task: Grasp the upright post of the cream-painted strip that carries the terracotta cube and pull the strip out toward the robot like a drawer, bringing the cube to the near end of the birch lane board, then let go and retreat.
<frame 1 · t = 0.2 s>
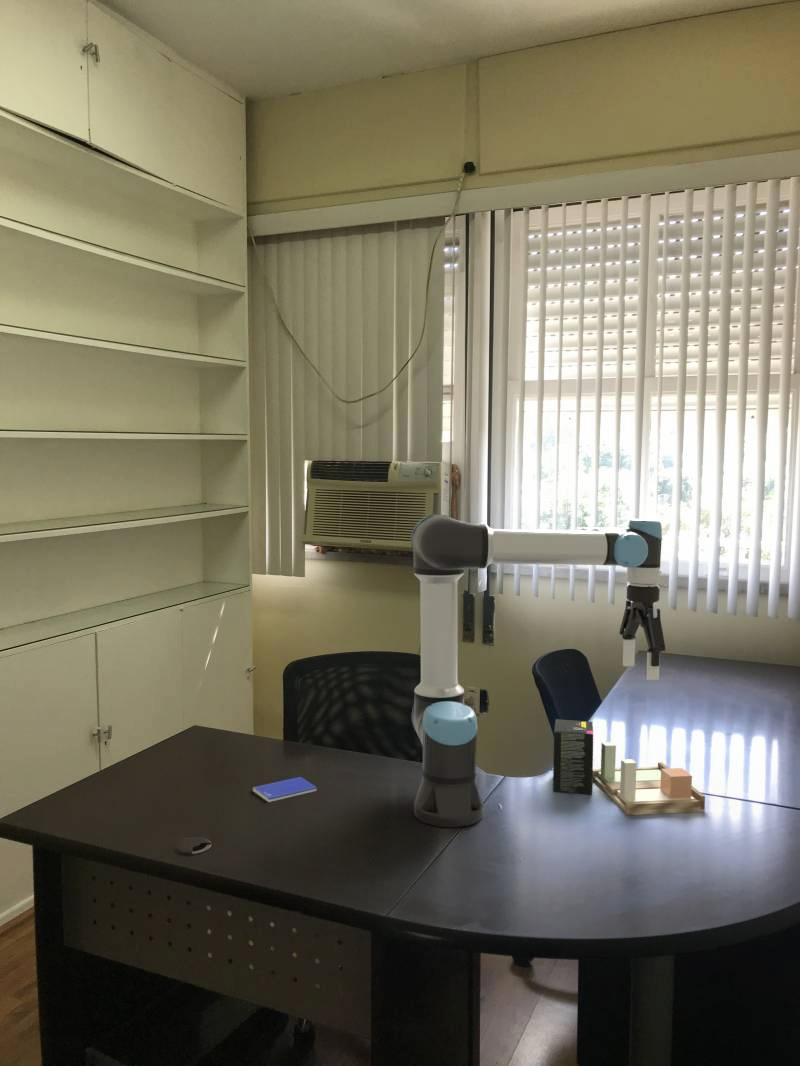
hand: (640, 672, 204), 27 cm above the table, fingers open, 13 cm apart
pale green l-shaped bracket: (634, 761, 205), point 6 cm above the table, slide at 0.0 cm
hard drive: (284, 793, 200), on the table
cube: (675, 793, 195), point 2 cm above the table, touching strip cream
tampon box: (572, 786, 205), on the table
strip cream: (656, 779, 194), point 6 cm above the table, slide at 0.0 cm, touching cube
lane board: (645, 794, 200), on the table
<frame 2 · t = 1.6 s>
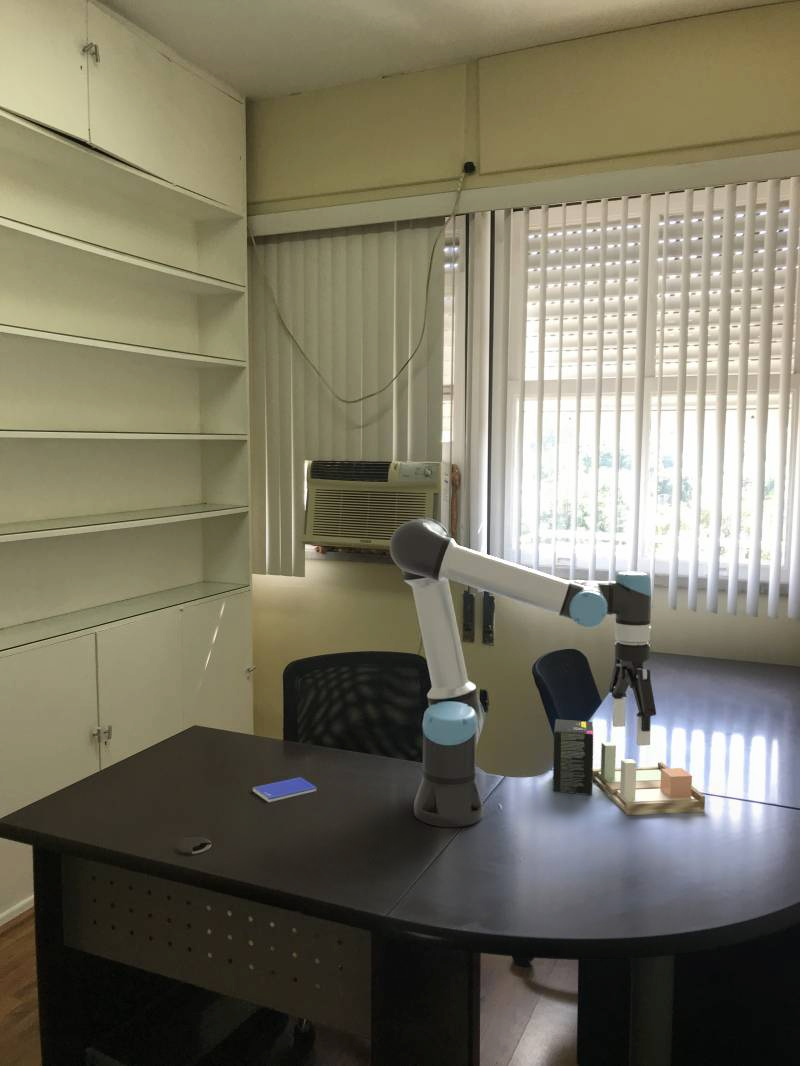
hand: (630, 735, 192), 16 cm above the table, fingers open, 13 cm apart
nothing on the table moved.
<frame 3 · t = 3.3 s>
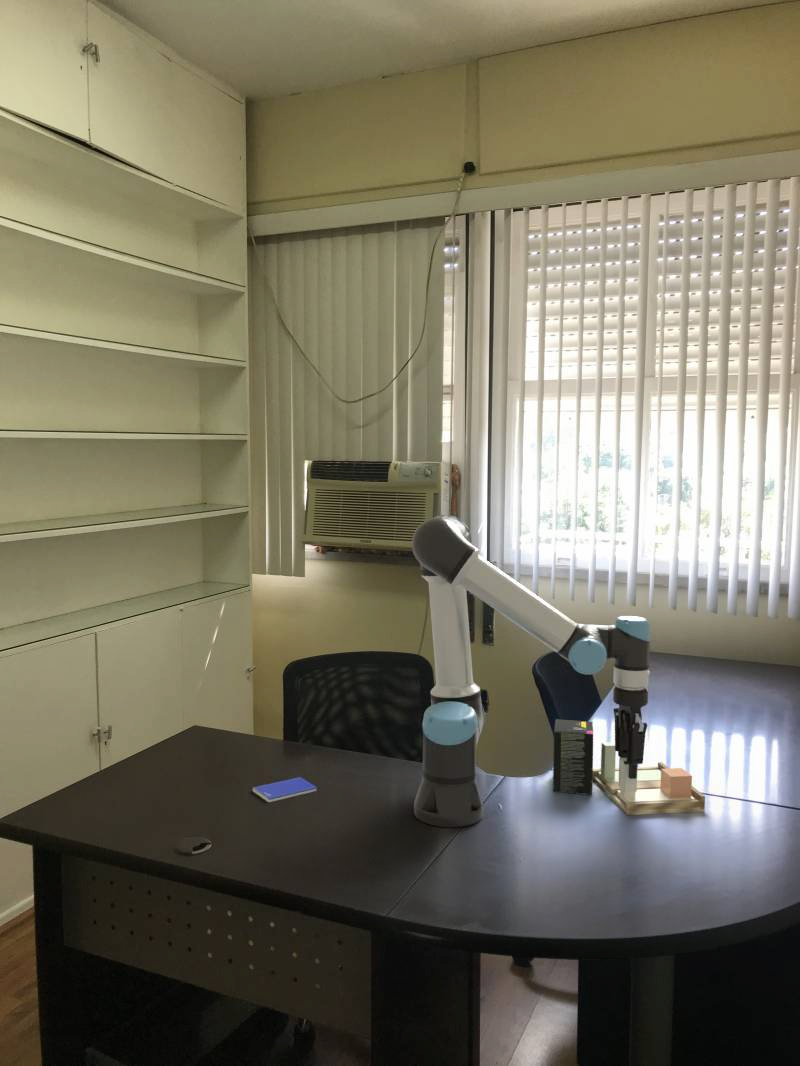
hand: (627, 788, 193), 4 cm above the table, fingers closed on strip cream, 2 cm apart
strip cream: (656, 779, 194), point 6 cm above the table, slide at 0.0 cm, touching cube, gripper
everything else where it was.
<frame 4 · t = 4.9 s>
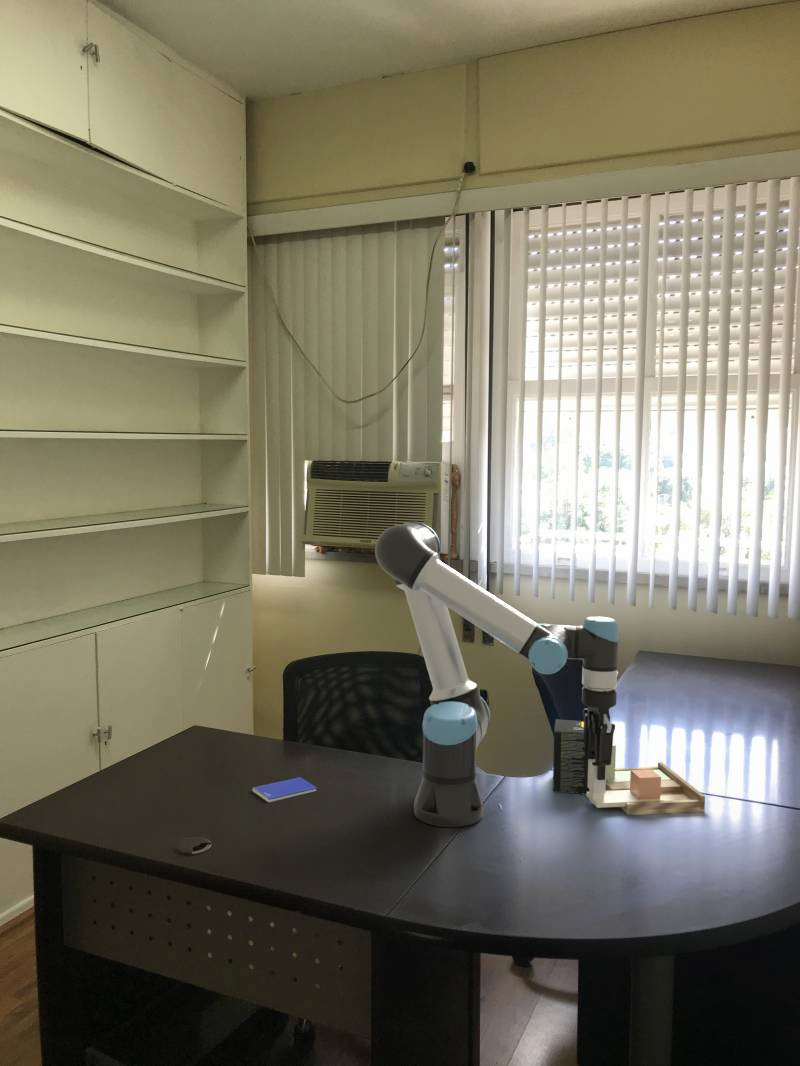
hand: (596, 789, 192), 4 cm above the table, fingers closed on strip cream, 2 cm apart
cube: (644, 795, 194), point 2 cm above the table, touching strip cream
strip cream: (625, 780, 193), point 6 cm above the table, slide at 7.3 cm, touching cube, gripper
everything else where it was.
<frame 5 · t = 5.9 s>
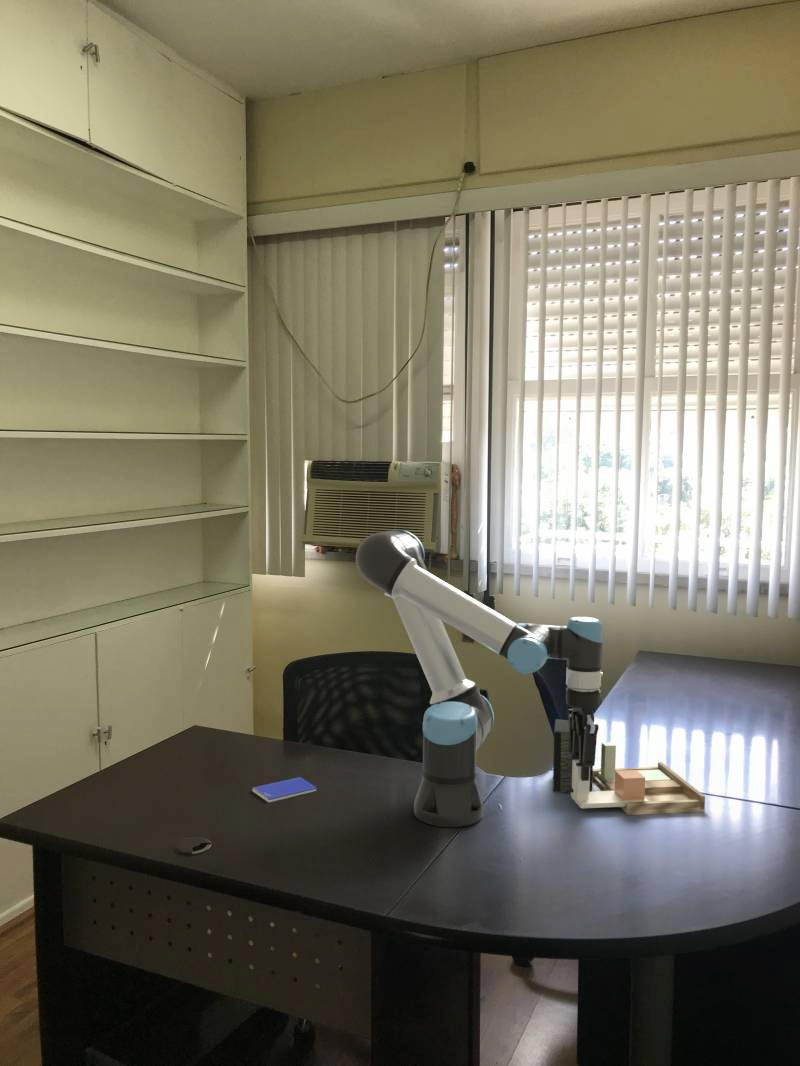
hand: (580, 790, 191), 4 cm above the table, fingers closed on strip cream, 2 cm apart
cube: (629, 795, 193), point 2 cm above the table, touching strip cream
strip cream: (609, 781, 192), point 6 cm above the table, slide at 11.0 cm, touching cube, gripper
everything else where it was.
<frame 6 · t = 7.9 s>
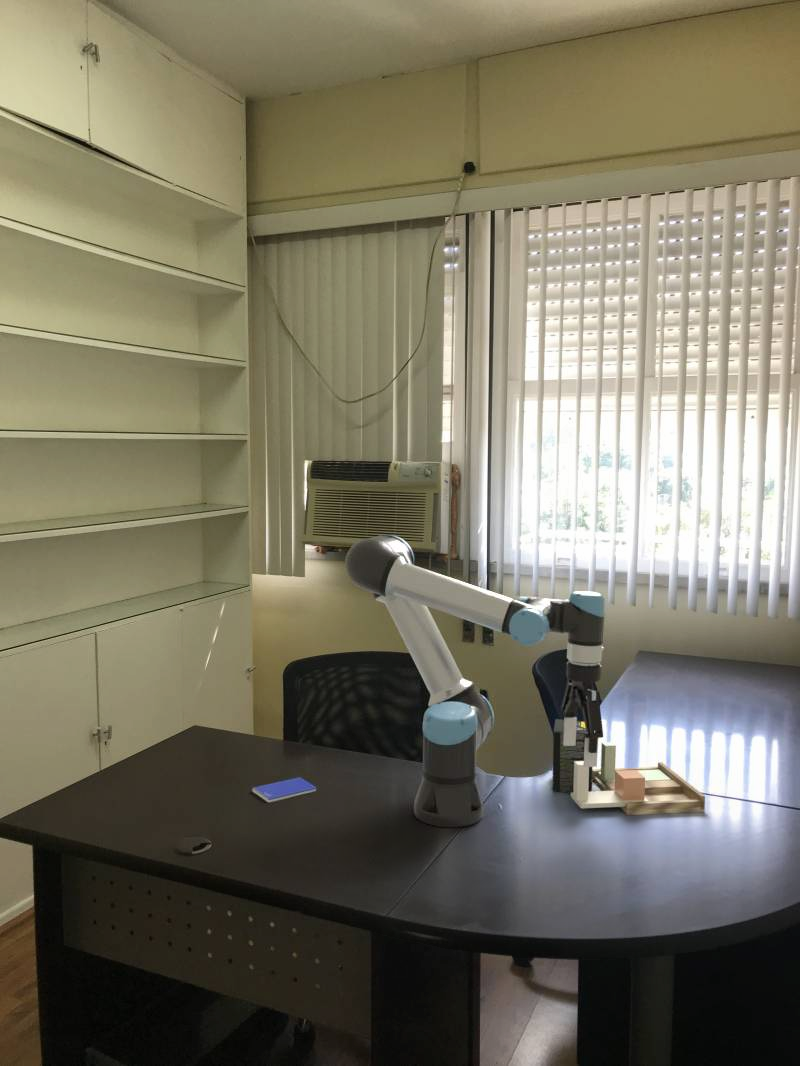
hand: (579, 755, 191), 12 cm above the table, fingers open, 13 cm apart
strip cream: (609, 781, 192), point 6 cm above the table, slide at 11.0 cm, touching cube
everything else where it was.
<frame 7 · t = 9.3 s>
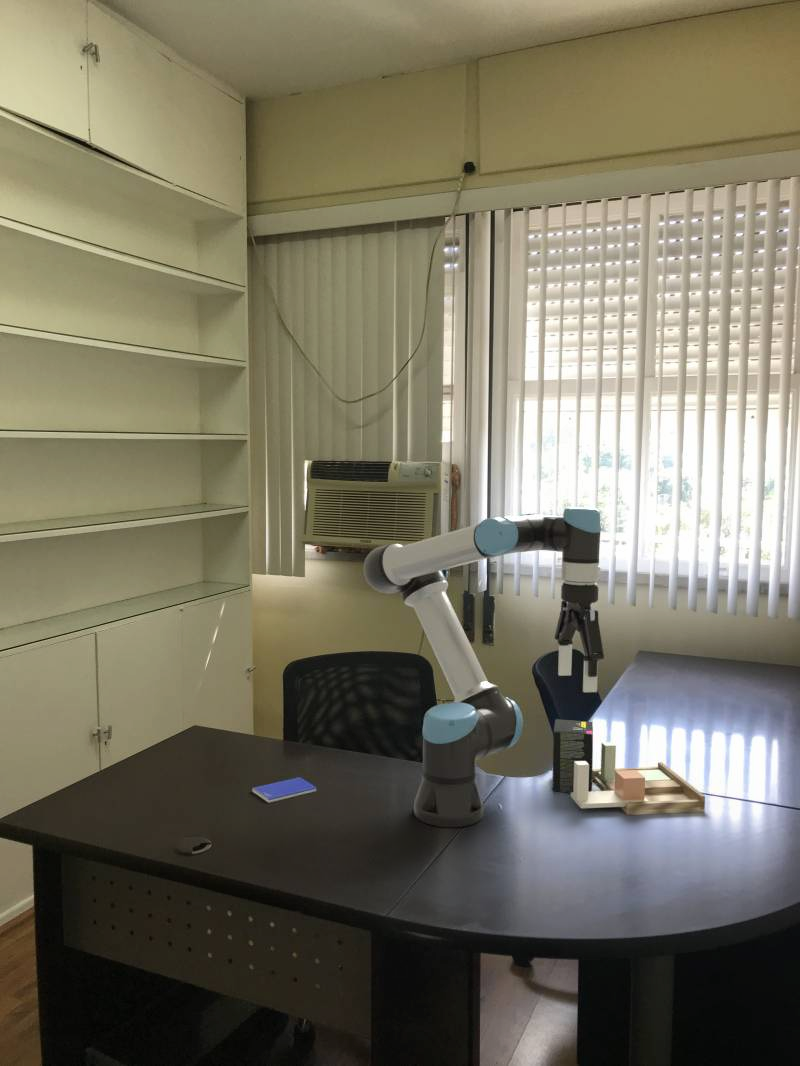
hand: (576, 683, 179), 31 cm above the table, fingers open, 13 cm apart
nothing on the table moved.
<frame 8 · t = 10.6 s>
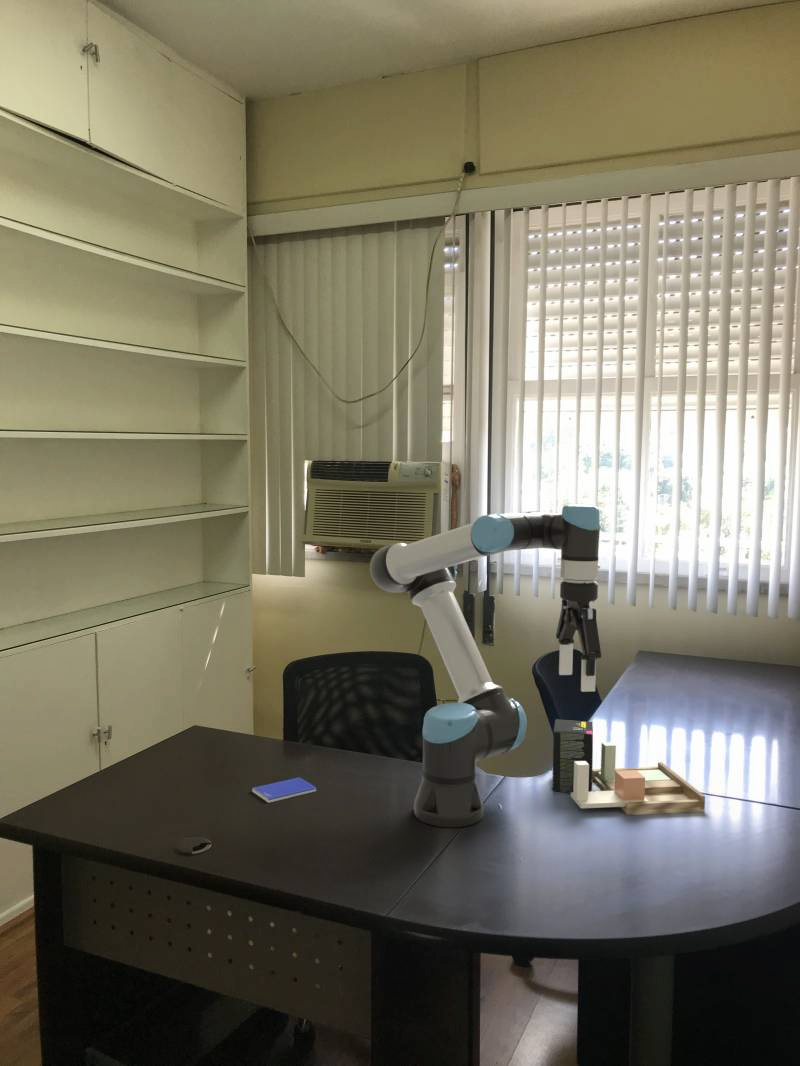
hand: (576, 682, 177), 32 cm above the table, fingers open, 13 cm apart
nothing on the table moved.
at the end: cube inside the target area (0.0 cm from its centre), point 2.3 cm above the table; strip cream slide at 11.0 cm; cube tilted 0° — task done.
